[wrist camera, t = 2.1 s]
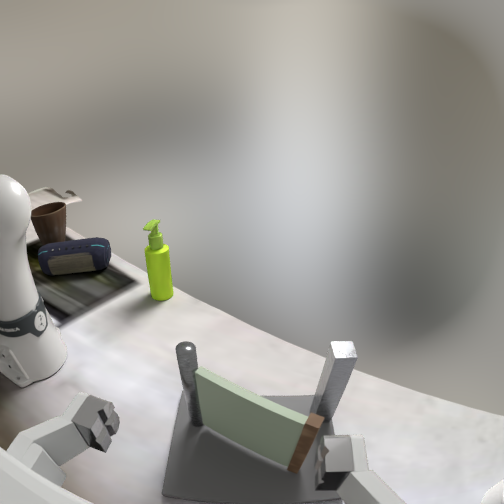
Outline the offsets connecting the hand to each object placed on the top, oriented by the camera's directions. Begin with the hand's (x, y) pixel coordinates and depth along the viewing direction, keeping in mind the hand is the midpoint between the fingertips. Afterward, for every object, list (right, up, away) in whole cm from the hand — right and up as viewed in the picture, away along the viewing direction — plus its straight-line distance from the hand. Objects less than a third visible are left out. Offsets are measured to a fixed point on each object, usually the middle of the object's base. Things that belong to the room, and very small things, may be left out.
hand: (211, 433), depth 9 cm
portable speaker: (-53, +1, +72) cm, 90 cm away
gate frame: (+2, -23, +28) cm, 37 cm away
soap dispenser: (-22, -5, +64) cm, 68 cm away
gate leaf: (+1, -22, +27) cm, 35 cm away
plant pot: (-72, +8, +84) cm, 111 cm away
